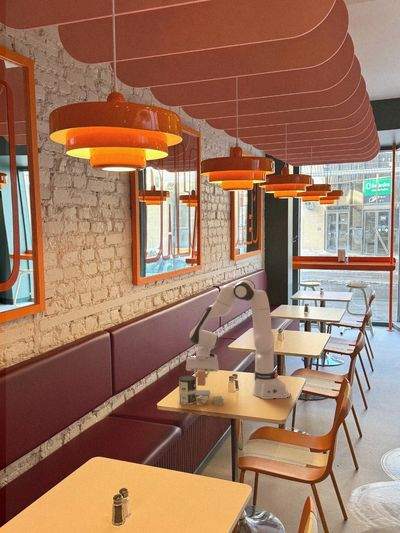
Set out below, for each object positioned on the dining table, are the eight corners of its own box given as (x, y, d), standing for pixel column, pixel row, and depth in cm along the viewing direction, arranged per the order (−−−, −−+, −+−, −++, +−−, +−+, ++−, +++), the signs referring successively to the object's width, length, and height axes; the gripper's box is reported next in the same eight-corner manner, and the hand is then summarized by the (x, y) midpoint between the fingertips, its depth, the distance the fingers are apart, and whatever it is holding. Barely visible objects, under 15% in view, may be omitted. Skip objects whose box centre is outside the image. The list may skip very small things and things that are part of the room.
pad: (210, 391, 306) (210, 390, 306) (208, 396, 297) (208, 395, 297) (195, 391, 307) (195, 390, 307) (193, 396, 298) (193, 395, 298)
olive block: (221, 401, 289) (221, 396, 289) (223, 404, 284) (223, 398, 284) (213, 402, 288) (213, 396, 288) (214, 405, 283) (214, 399, 283)
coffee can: (196, 398, 295) (196, 375, 294) (196, 404, 285) (196, 380, 284) (179, 398, 295) (179, 375, 294) (178, 404, 285) (178, 380, 284)
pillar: (205, 383, 304) (205, 369, 303) (204, 385, 299) (204, 371, 298) (198, 383, 304) (198, 368, 303) (197, 385, 300) (197, 371, 299)
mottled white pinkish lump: (208, 402, 287) (208, 396, 287) (204, 405, 283) (204, 399, 283) (200, 401, 289) (200, 395, 289) (196, 404, 285) (196, 397, 285)
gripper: (186, 353, 308) (184, 373, 300) (218, 354, 306) (217, 374, 297) (187, 359, 313) (185, 378, 304) (219, 359, 311) (218, 379, 302)
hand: (201, 376), depth 301 cm, fingers closed on pillar, 4 cm apart
